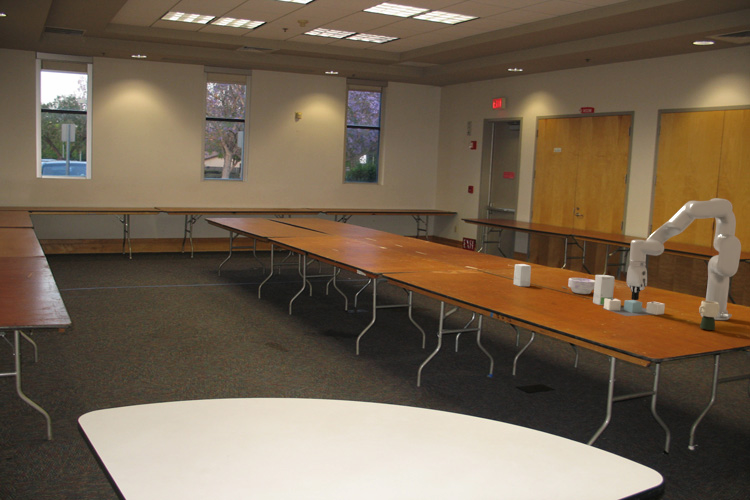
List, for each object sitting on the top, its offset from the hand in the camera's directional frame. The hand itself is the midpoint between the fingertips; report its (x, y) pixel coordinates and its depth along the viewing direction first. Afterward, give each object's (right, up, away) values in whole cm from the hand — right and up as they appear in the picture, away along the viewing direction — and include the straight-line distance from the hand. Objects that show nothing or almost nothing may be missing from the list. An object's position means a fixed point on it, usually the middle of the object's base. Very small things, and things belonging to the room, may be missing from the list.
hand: (634, 299), depth 336 cm
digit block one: (+10, -7, -1) cm, 12 cm away
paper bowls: (-12, 0, +49) cm, 50 cm away
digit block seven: (-11, -5, +3) cm, 12 cm away
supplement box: (-43, +4, +65) cm, 78 cm away
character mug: (+21, -12, -32) cm, 40 cm away
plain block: (-1, -6, +1) cm, 6 cm away
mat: (-1, -6, +1) cm, 6 cm away
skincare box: (-11, -4, +17) cm, 21 cm away
